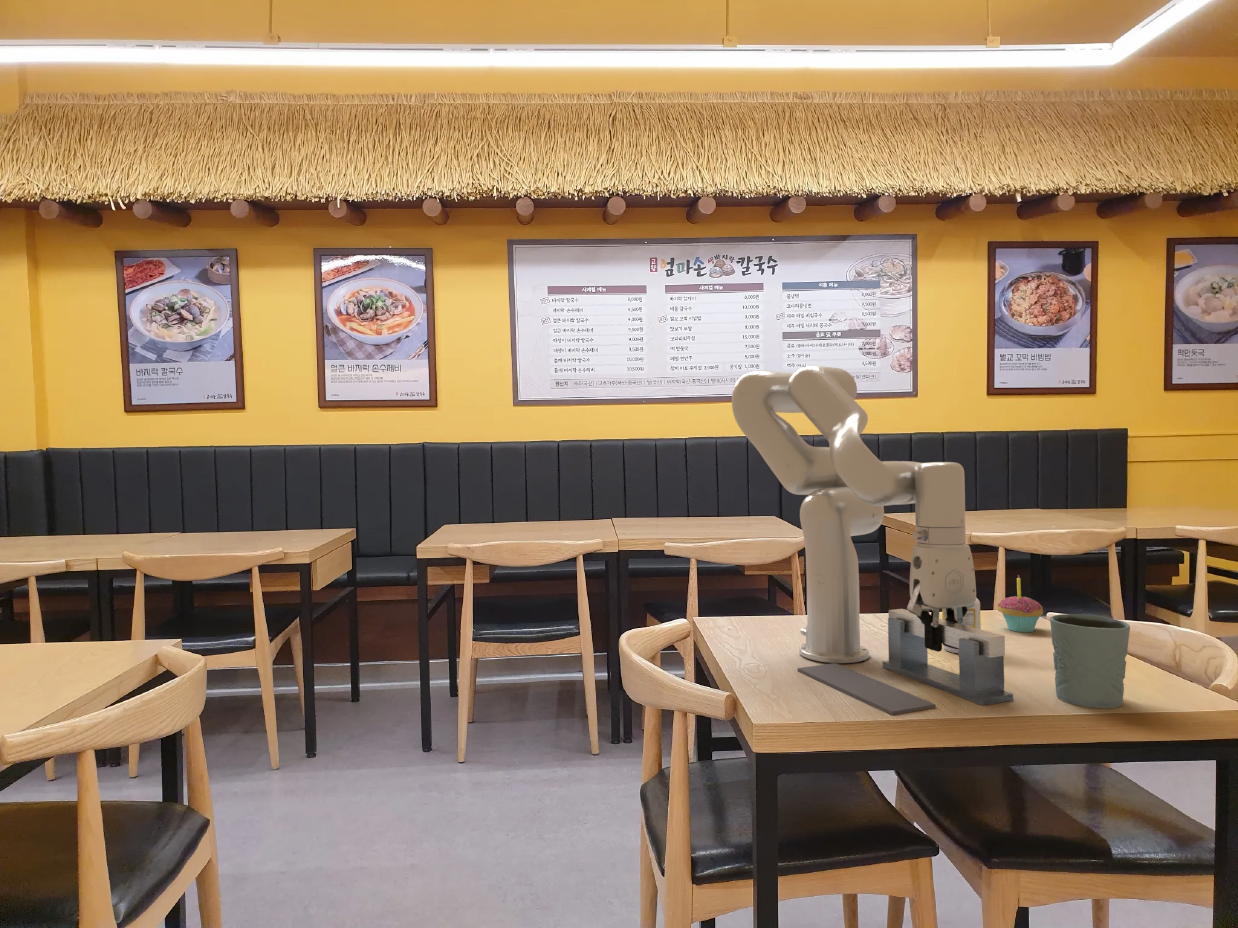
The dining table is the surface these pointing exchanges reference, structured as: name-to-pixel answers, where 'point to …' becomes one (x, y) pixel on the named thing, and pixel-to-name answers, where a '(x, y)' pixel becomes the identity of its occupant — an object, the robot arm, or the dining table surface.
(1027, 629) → the cupcake
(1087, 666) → the green planter pot
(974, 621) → the supplement bottle
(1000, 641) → the rail
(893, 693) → the mat
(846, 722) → the dining table surface
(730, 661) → the dining table surface
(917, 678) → the rack
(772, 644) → the dining table surface
